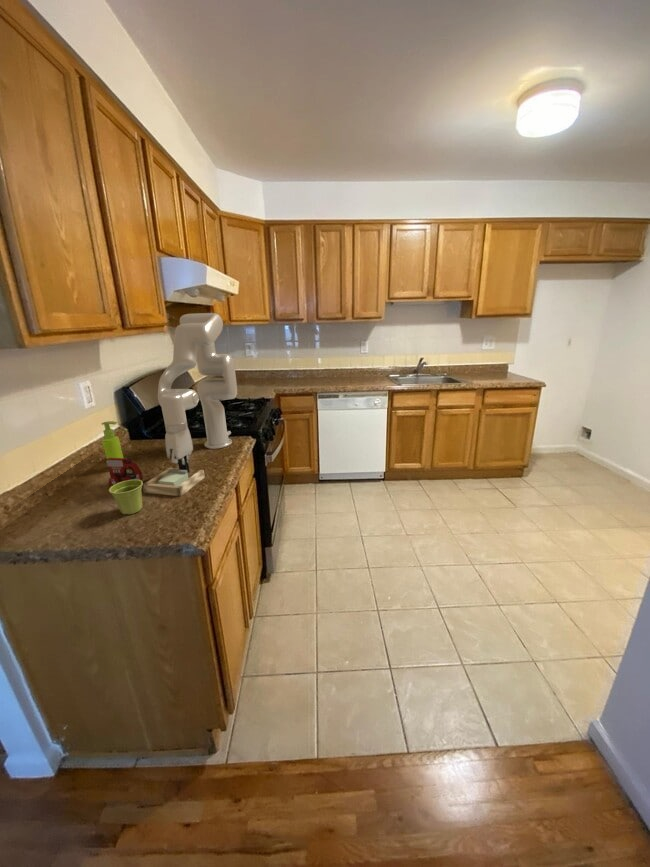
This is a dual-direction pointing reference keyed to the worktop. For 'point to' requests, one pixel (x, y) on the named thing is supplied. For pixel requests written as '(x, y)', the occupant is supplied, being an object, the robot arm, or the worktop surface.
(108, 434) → the soap dispenser
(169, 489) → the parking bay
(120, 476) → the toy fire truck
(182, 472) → the pale green block
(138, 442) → the worktop surface
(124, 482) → the plant pot
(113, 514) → the worktop surface
